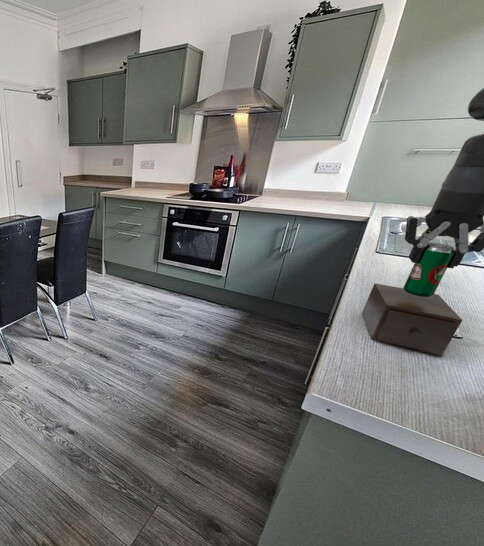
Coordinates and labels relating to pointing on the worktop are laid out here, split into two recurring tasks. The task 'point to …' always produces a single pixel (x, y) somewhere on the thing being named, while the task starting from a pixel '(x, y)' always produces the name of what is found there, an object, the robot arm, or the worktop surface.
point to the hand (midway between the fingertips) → (431, 264)
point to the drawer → (416, 331)
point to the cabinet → (403, 308)
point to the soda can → (429, 269)
